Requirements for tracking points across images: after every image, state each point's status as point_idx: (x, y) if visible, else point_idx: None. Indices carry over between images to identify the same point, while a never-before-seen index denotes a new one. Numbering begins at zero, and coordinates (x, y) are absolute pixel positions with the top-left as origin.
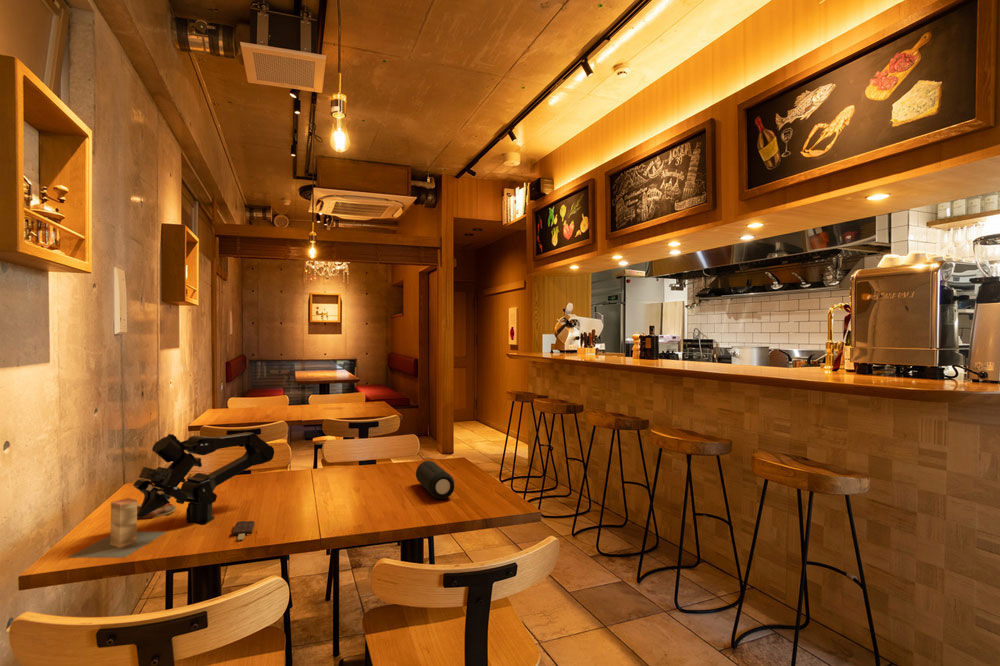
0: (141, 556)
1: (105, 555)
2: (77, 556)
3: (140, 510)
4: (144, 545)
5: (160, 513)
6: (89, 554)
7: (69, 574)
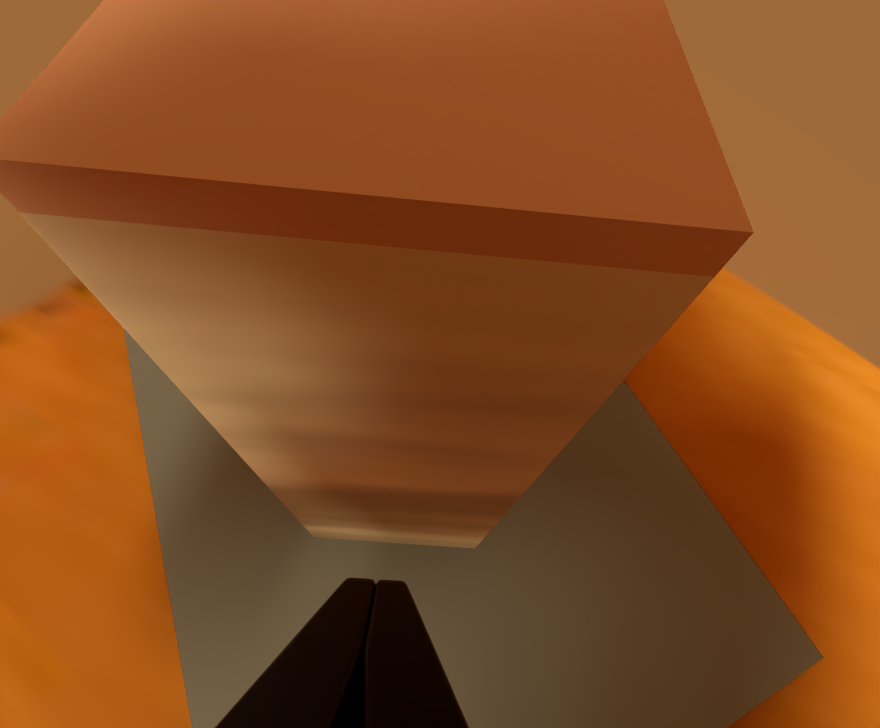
0: (36, 383)
1: None
2: None
3: (381, 651)
4: (157, 514)
5: None
6: None
7: None
